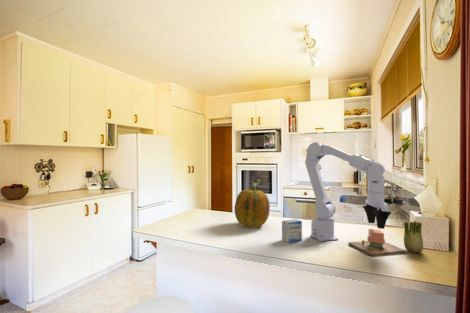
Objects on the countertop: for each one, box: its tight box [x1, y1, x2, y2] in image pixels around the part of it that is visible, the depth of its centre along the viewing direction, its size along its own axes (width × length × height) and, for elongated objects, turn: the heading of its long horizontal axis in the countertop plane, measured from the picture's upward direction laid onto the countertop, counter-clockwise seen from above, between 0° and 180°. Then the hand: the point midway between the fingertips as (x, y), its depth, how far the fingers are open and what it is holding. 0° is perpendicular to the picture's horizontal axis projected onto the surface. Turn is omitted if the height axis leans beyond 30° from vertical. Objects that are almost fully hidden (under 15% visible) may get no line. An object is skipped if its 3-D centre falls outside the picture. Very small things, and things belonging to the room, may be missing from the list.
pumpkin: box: [234, 178, 271, 228], centre depth 122 cm, size 19×19×25 cm
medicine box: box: [281, 218, 303, 244], centre depth 101 cm, size 8×4×9 cm, turn 117°
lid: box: [366, 228, 386, 244], centre depth 92 cm, size 6×6×4 cm
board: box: [348, 239, 407, 257], centre depth 92 cm, size 16×12×2 cm
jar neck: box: [369, 242, 383, 248], centre depth 92 cm, size 5×5×2 cm
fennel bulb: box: [403, 220, 424, 254], centre depth 90 cm, size 6×5×12 cm
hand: (375, 225), depth 92 cm, fingers open, 7 cm apart
